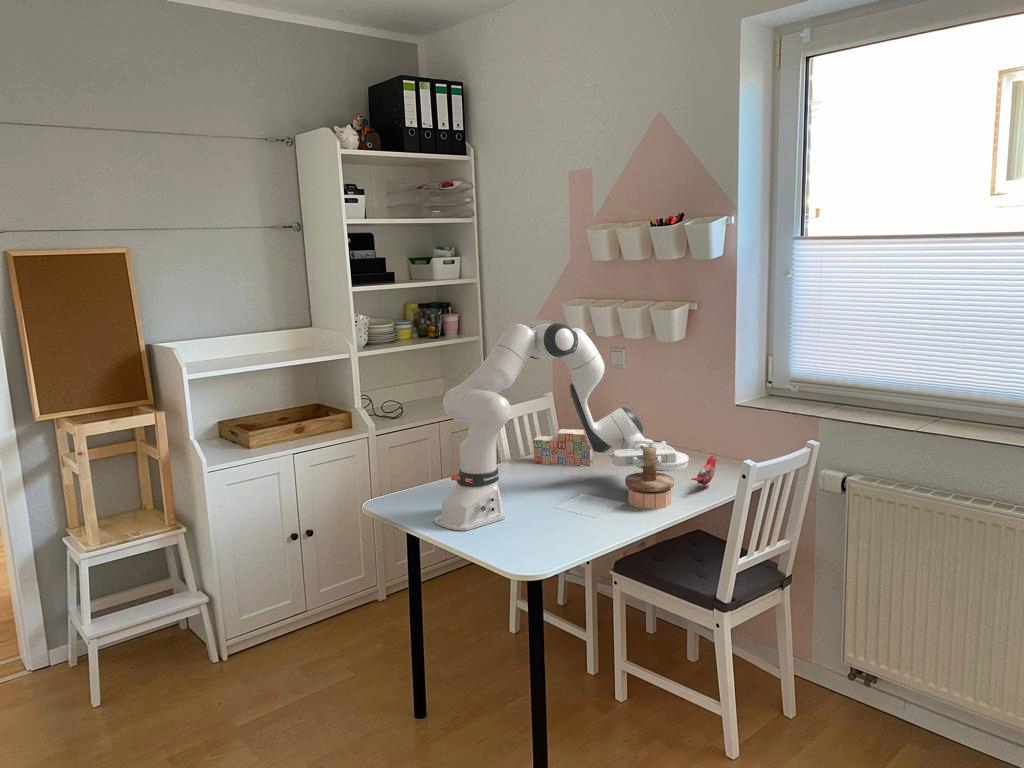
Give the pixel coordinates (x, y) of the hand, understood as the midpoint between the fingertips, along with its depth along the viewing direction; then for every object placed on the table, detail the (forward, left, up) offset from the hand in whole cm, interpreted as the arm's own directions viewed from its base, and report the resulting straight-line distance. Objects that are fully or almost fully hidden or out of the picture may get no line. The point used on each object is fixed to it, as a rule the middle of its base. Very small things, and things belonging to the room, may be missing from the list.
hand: (650, 463), depth 240 cm
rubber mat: (-13, +14, -13) cm, 23 cm away
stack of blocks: (+21, +49, -13) cm, 55 cm away
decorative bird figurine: (+21, -7, -13) cm, 26 cm away
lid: (+41, +18, -13) cm, 47 cm away
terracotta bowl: (+1, +1, -13) cm, 13 cm away
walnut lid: (+1, +1, -7) cm, 7 cm away
